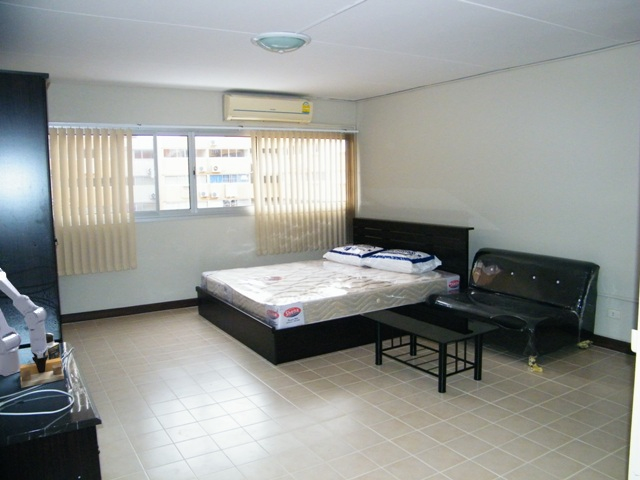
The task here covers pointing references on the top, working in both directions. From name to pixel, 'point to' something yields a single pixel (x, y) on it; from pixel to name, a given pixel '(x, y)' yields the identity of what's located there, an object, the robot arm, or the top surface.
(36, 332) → the robot arm
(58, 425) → the top surface
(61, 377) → the display stand
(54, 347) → the medicine bottle
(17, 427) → the top surface
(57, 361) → the amber bar
